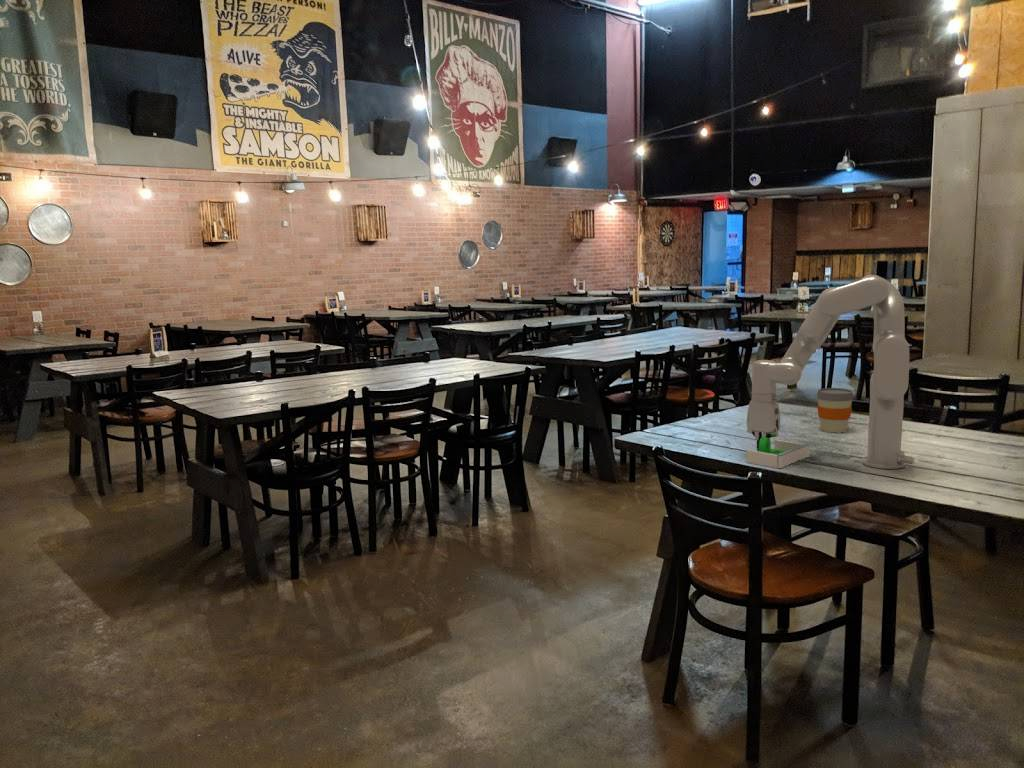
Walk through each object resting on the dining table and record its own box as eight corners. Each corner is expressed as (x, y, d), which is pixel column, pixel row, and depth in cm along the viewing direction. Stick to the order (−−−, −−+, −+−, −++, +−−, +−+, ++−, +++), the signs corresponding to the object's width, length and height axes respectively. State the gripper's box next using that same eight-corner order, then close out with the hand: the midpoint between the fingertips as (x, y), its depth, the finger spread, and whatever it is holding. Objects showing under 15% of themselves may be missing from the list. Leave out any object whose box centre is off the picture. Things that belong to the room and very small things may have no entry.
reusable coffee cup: (857, 433, 289) (859, 393, 287) (822, 434, 290) (824, 394, 287) (843, 426, 302) (845, 387, 299) (810, 426, 302) (812, 388, 300)
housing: (809, 456, 260) (809, 443, 259) (780, 468, 247) (780, 455, 246) (776, 450, 269) (776, 438, 268) (746, 462, 255) (746, 449, 255)
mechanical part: (776, 465, 252) (777, 441, 251) (758, 462, 256) (758, 438, 254) (788, 456, 261) (789, 433, 260) (770, 454, 265) (771, 431, 264)
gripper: (790, 398, 256) (788, 453, 259) (749, 393, 266) (747, 446, 270) (779, 402, 251) (777, 458, 254) (737, 396, 261) (735, 450, 265)
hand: (761, 451), depth 262 cm, fingers closed
